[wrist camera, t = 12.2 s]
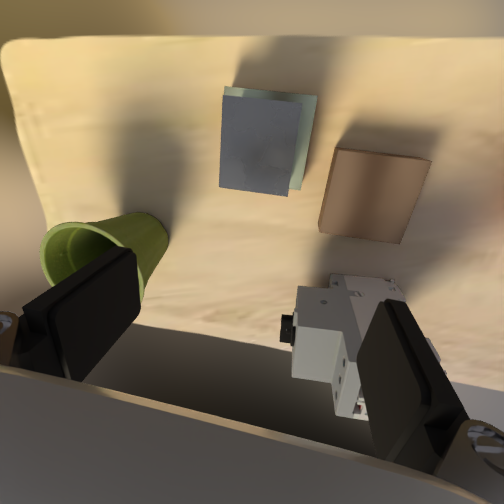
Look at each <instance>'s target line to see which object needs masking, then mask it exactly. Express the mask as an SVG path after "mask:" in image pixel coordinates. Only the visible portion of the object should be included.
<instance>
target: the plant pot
mask: <svg viewBox="0 0 504 504" xmlns="http://www.w3.org/2000/svg"><path fill="white" fill-rule="evenodd" d="M114 246H121V247H127V248H131V249H132V251H133V253H135V254H136V256H137V267H138V279H139V291H140V302H142V300H143V297H144V289H145V287H146V285H147V282H148V279H149V278H150V276H151V274H152V273H153V271H154V269H155V268H156V266H157V265H158V263H159V261H160V260H161V258H162V257H163V255H164V253H165V252H166V250H167V247H168V235H167V233H166V231H165V230H164V228H163V227H162V225H161V223H160V222H159V221H158V220H157V219H156V218H154V217H153V216H151V215H149V214H146V213H141V212H136V213H131V214H127V215H123V216H119V217H115V218H111V219H107V220H103V221H98V222H87V223H82V222H66V223H62V224H59V225H57V226H55V227H53V228H52V229H50V230H49V231H48V232H47V233H46V235H45V236H44V238H43V240H42V242H41V246H40V262H41V266H42V269H43V271H44V274H45V276H46V278H47V280H48V282H49V283H50V284H51V286H52V287H53V286H55V285H56V284H58V283H59V282H61V281H62V280H64V279H65V278H67V277H68V276H70V275H71V274H73V273H74V272H76V271H77V270H79V269H80V268H82V267H83V266H85V265H87V264H88V263H90V262H91V261H93V260H94V259H96V258H97V257H99V256H100V255H102V254H103V253H105V252H106V251H108V250H109V249H111V248H112V247H114Z"/></svg>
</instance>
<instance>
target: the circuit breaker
mask: <svg viewBox="0 0 504 504" xmlns="http://www.w3.org/2000/svg"><path fill="white" fill-rule="evenodd" d="M394 282H395V280H394V279H390V281H384V279H383V278H373V277H362V276H351V275H340V274H331V275H330V281H329V287H328V288H317V287H306V286H298V288H297V298H296V308H295V309H294V312H293V315H283V314H282V318H281V331H280V342H284V343H290V345H291V346H292V377H294V378H302V379H308V380H315V381H322V382H329V383H331V384H332V391H333V399H334V407H335V414H336V415H337V416H343V417H349V418H355V419H362V420H368V415H367V411H366V406H365V401H364V397H363V392H362V387H361V383H360V378H359V373H358V369H357V363H356V359H357V354H358V351H359V349H360V347H361V344H362V342H363V339H364V337H365V335H366V332H367V330H368V327H369V325H370V323H371V320H372V318H373V315H374V313H375V311H376V308H377V306H378V304H379V302H380V301H383V302H384V301H385V300H386V299H387V298H388V299H393V300H398V301H403V302H406V299H405V297H404V295H403V294H402V292H401V290H400V289H399V287H398V286H395V284H394ZM392 289H393V290H395V291H392ZM426 340H427V342H428V344H429V346H430V347H431V349H432V351H433V353H434V355H435V356H436V358H437V360H438V362H439V363H440V361H441V359H440V357H439V354H438V353H437V351H436V349H435V348H434V346H433V344H432V343H431V341H430V339H429V338H426ZM443 371H444V372H445V374H446V375H447V373H446V371H445V370H443ZM368 421H369V420H368Z"/></svg>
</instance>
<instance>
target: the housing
mask: <svg viewBox="0 0 504 504" xmlns="http://www.w3.org/2000/svg"><path fill="white" fill-rule="evenodd" d="M302 104H303V103H296V102H287V101H277V100H268V99H258V98H248V97H239V96H229V95H223V103H222V127H221V150H220V174H219V187H221V188H228V189H235V190H243V191H250V192H257V193H264V194H272V195H279V196H286V197H288V191H289V185H290V178H291V172H292V166H293V160H294V153H295V147H296V141H297V135H298V129H299V122H300V116H301V110H302Z"/></svg>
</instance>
